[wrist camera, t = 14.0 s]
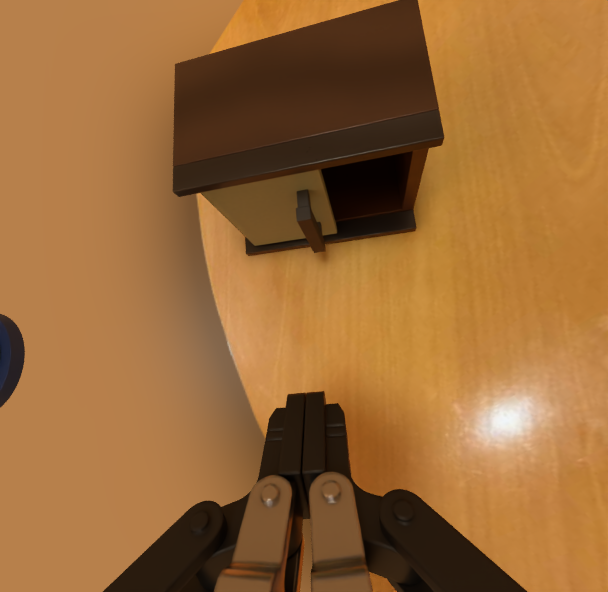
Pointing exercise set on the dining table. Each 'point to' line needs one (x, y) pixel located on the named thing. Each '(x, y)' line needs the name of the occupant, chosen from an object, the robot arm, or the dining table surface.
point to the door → (279, 209)
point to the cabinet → (316, 118)
